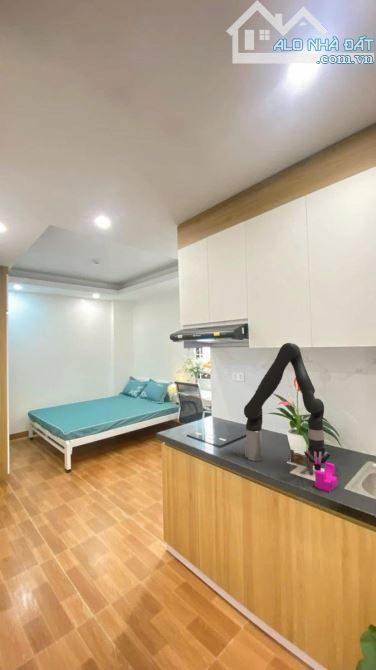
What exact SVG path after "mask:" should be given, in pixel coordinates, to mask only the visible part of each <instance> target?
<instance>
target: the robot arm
mask: <svg viewBox="0 0 376 670" xmlns="http://www.w3.org/2000/svg"><path fill="white" fill-rule="evenodd" d="M289 363H290V364H291V366H292V368H293V371H294V376H295V379H296V383H297V385H298V388H299V392H300V393H301V396H302V401H303V405H304V408H305V410H306V411H307V412H308V413H309V414H310V416H309V417H308V421H307V425H308V431H307V434H308V435H307V439H308V440H307V441H308V448H307V450H305V451H303V453H304V456H306V457H307V458H308V459H309V460H310V461H311V462H313V466H314V468H315V470H316V471H317V470H319V471H320V470H321V468H322V466H321V465H322V464H325V463H326V462H327V461H328V459H329V458H330V457H331V454H330V453H329V452H328V451H326V449H325V433H324V425H323V424H324V423H323V422H324V421H323V419H324V414H325V405H324V402H323V401H322V400H321V399H320V398H316V397H315V392H316V389H315V387H314V384H313V382H312V379H311V378H310V376H309V374H308V371H307V368H306V366H305V364H304V359H303V357H302V353H301V349H300V347H299V345H297V344H296V343H292V342H286V343H284V344H282V345H281V347H280V349H279V351H278V352H277V355H276V357H275V359H274V361H273V363H272V364H271V365H270V367H269V368H268V370H267V372H266V373H265V375H264V377H263V378H262V379H261V380H260V383H259V384H258V386H257V388H256V390H255V392H254V395H252V397H251V399H250V400H249V401H248V402H247V403H246V405H245V406H244V409H243V414H244V416H245V418H247V419H246V420H247V421H246V424H245V435H246V436H245V441H244V452H245V454H244V456H245V458H246V457H247V458H248V459H247V458H246V459H247V460H248V461H251V460H252V462H259V461H262V460H263V435H262V433H263V432H262V428H263V427H262V426H263V406H264V404H265V403H266V402H267V400H268V399H269V398H270V397H271V396H272V395H273V394H274V393H275V391H276V390H277V388H278V387H279V385H280V384H281V382H282V380H283V375H284V372H285V370H286V368H287V366H288V365H289ZM309 455H310V456H309ZM311 456H312V457H311Z"/></svg>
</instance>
